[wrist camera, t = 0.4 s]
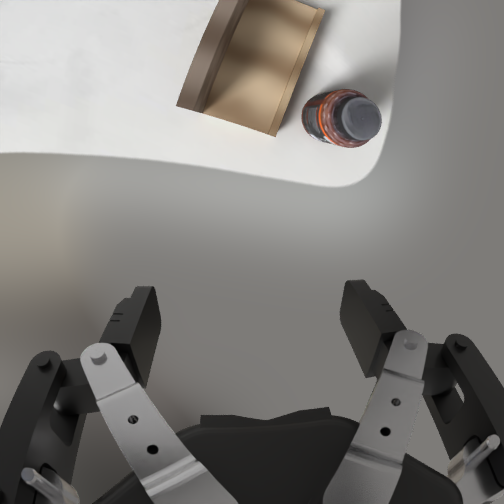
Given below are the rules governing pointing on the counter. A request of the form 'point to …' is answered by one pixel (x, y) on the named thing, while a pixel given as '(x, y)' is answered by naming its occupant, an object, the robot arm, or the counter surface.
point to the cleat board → (250, 61)
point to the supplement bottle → (341, 118)
